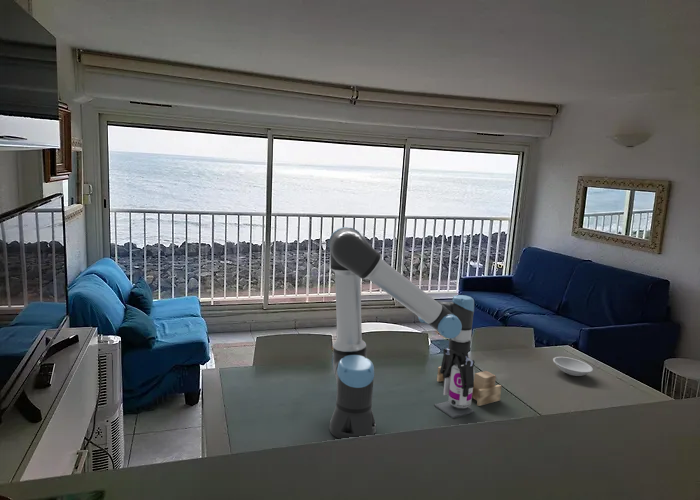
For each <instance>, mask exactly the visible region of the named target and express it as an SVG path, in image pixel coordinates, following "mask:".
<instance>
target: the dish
mask: <svg viewBox="0 0 700 500" xmlns="http://www.w3.org/2000/svg"><path fill="white" fill-rule="evenodd" d="M552 361H553V363H554V364H555V366H557V368H559V370H560V371H561V372H563V373H566V374H567V375H569V376H574V377H575V376H576V377H581V376H585V375H588V374H589V373H592V372H594V371H593V370H594V369H593V367H592V366H591V365H590V364H588V363H587V362H585V361H582V360H579V359H576V358H572V357H567V356H555V357H553V358H552Z"/></svg>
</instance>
